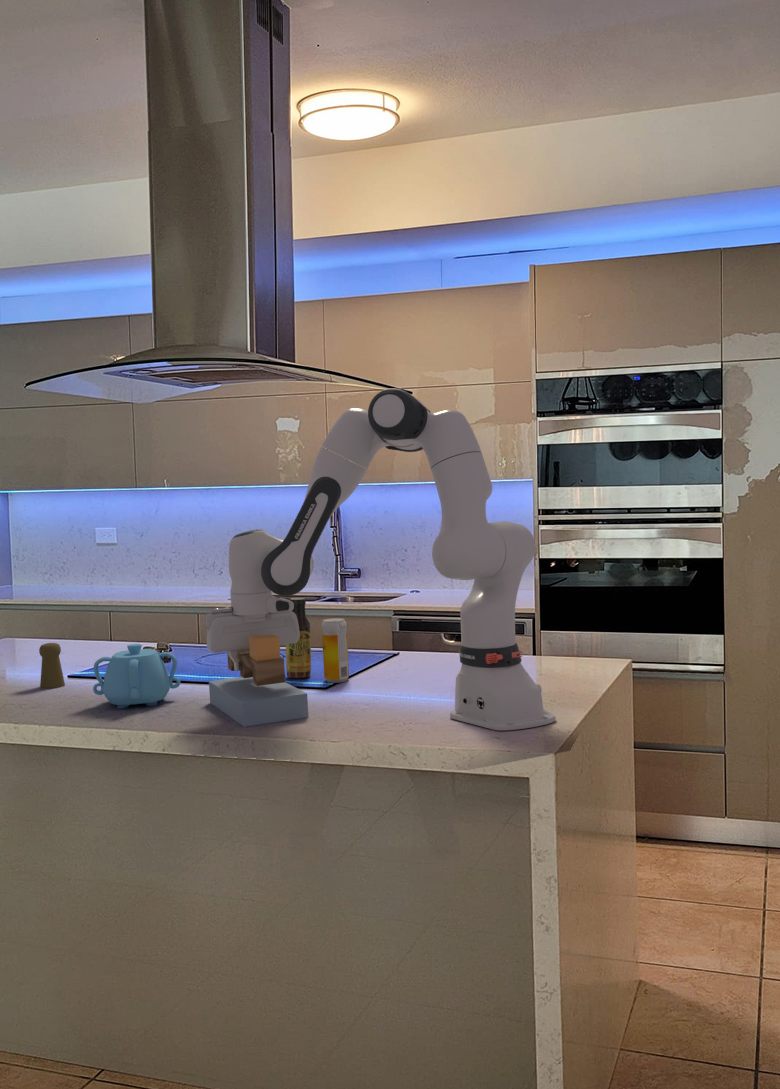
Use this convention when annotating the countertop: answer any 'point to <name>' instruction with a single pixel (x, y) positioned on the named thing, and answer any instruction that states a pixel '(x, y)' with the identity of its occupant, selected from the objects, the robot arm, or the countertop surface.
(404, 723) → the countertop surface
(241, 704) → the block
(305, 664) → the sauce bottle
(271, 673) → the walnut pallet
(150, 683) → the decorative pot
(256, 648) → the orange crate
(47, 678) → the cork
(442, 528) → the robot arm
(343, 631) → the beer can
